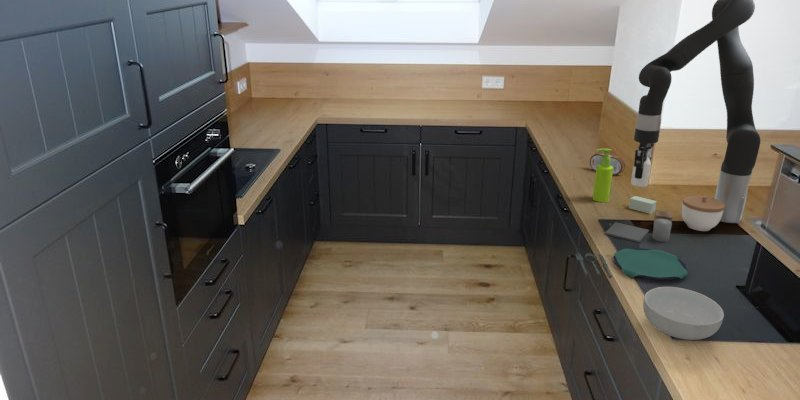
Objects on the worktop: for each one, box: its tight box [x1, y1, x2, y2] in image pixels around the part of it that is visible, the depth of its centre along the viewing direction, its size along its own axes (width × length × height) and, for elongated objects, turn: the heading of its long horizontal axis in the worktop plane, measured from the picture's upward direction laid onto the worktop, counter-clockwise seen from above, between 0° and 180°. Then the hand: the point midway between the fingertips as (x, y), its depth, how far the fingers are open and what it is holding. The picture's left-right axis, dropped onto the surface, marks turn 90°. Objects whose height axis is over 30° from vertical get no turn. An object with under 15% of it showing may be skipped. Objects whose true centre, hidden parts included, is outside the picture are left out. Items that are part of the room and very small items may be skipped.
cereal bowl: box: [642, 286, 725, 341], centre depth 134 cm, size 17×17×7 cm
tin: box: [589, 151, 626, 176], centre depth 248 cm, size 15×3×8 cm, turn 47°
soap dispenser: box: [592, 147, 613, 203], centre depth 215 cm, size 6×7×20 cm
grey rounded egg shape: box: [651, 219, 673, 243], centre depth 184 cm, size 5×5×6 cm
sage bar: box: [628, 195, 658, 215], centre depth 208 cm, size 8×4×4 cm, turn 45°
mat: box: [604, 221, 650, 243], centre depth 189 cm, size 11×11×1 cm
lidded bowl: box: [681, 195, 725, 232], centre depth 192 cm, size 13×13×11 cm
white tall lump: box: [630, 158, 652, 188], centre depth 194 cm, size 6×12×6 cm
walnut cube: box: [653, 209, 673, 224], centre depth 193 cm, size 5×5×5 cm
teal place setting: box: [575, 248, 689, 281], centre depth 166 cm, size 20×30×2 cm, turn 83°
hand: (640, 175), depth 195 cm, fingers closed on white tall lump, 6 cm apart
